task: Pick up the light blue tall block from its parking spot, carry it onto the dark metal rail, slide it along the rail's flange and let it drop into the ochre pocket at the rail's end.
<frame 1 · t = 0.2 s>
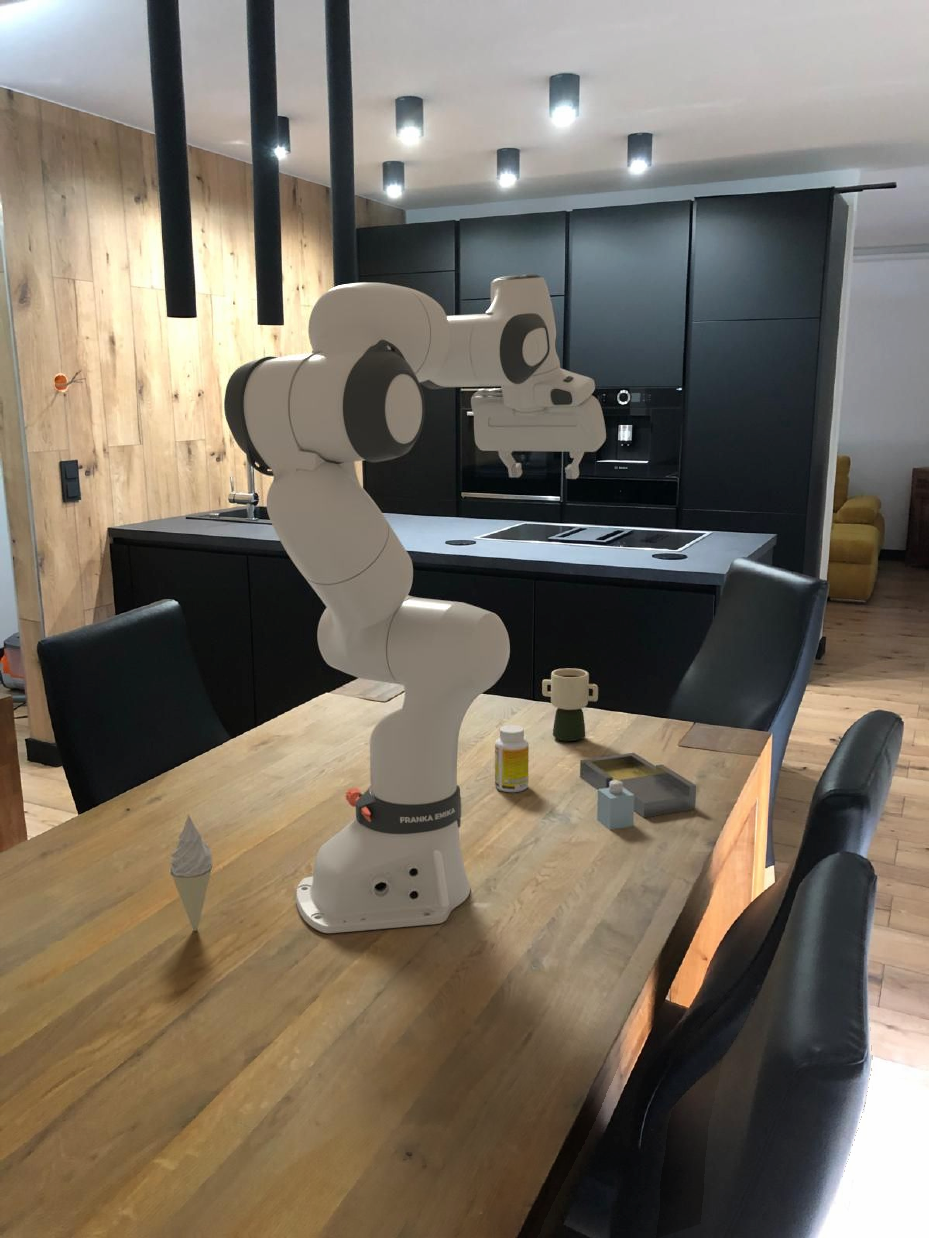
hand: (544, 476, 152), 52 cm above the table, tool tilted 20°, fingers open, 8 cm apart
light blue tall block: (615, 823, 152), on the table
supplement bottle: (511, 788, 166), on the table
rail: (636, 793, 163), on the table
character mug: (568, 739, 190), on the table
ice cream cone: (195, 931, 121), on the table
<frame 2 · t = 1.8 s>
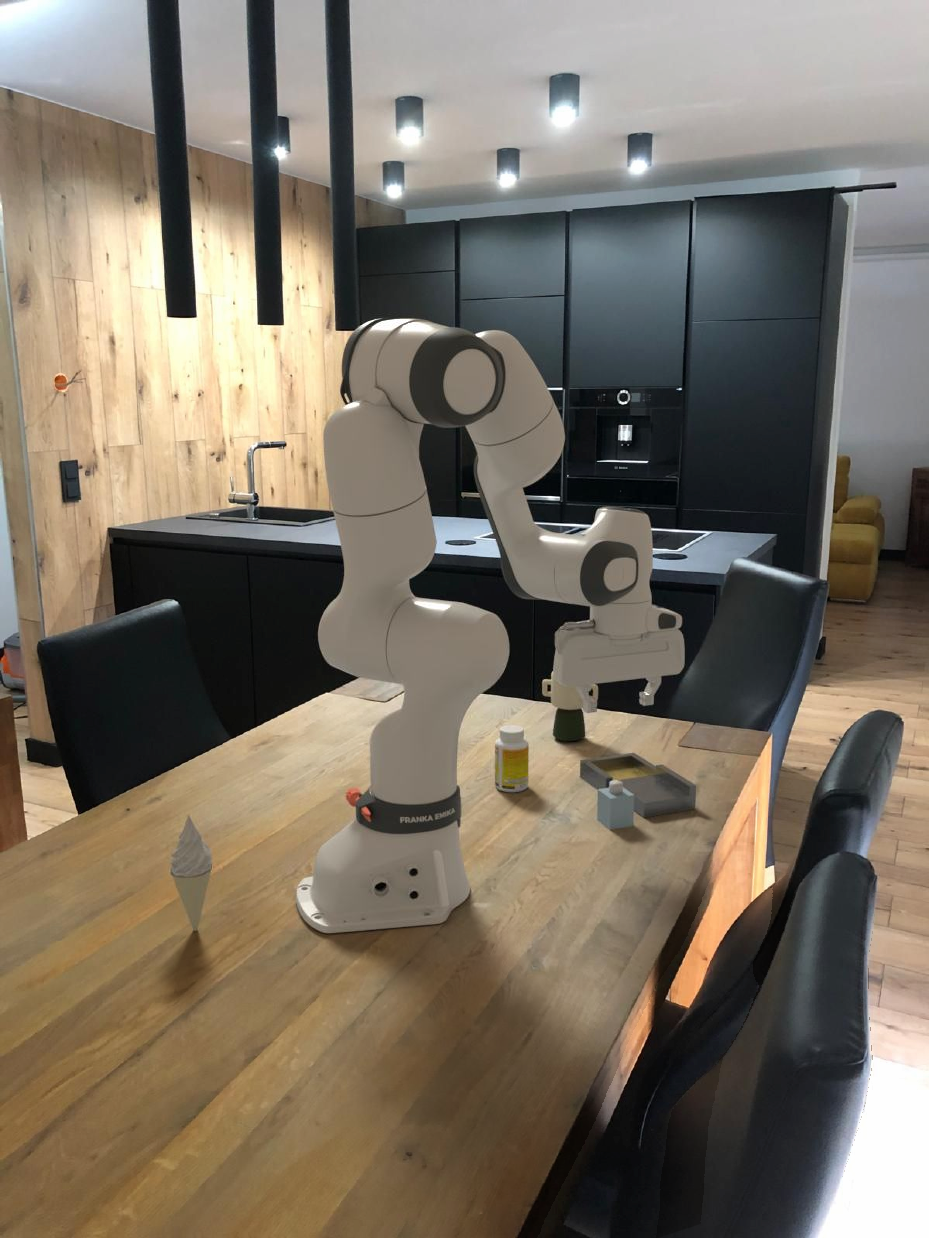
hand: (618, 708, 148), 18 cm above the table, tool pointing down, fingers open, 8 cm apart
nothing on the table moved.
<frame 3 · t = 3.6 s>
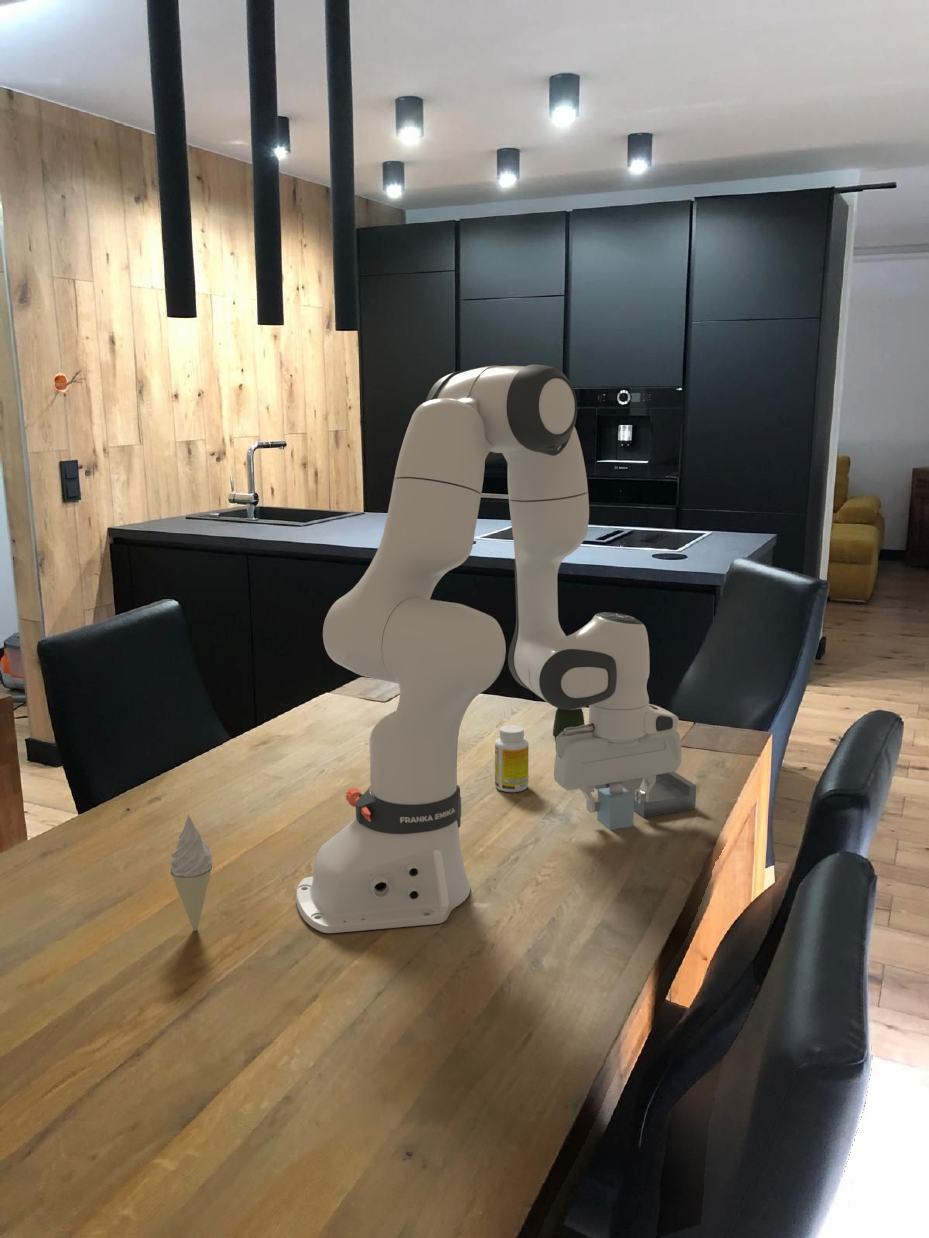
hand: (617, 806, 152), 2 cm above the table, tool pointing down, fingers open, 7 cm apart
nothing on the table moved.
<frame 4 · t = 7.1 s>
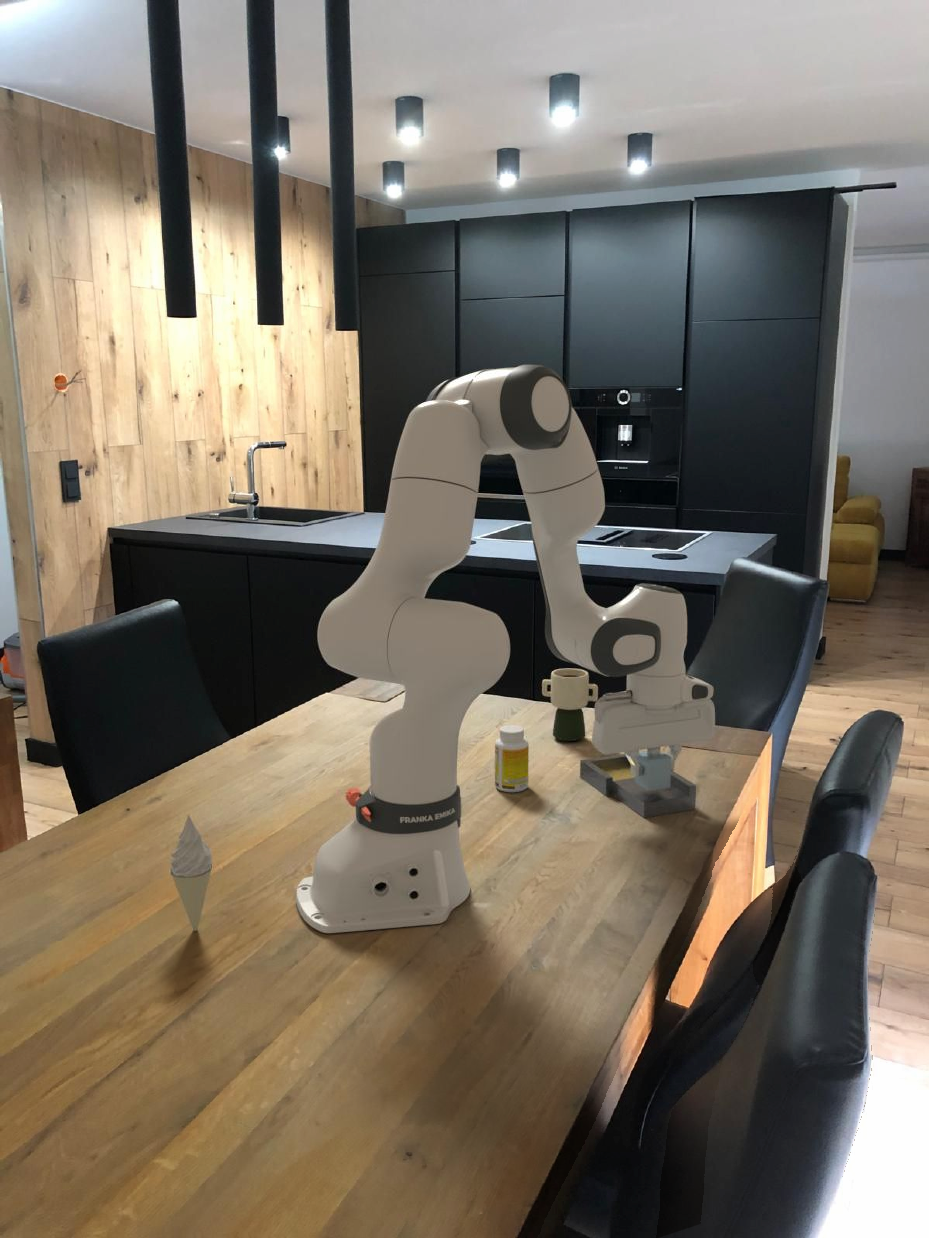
hand: (652, 772, 157), 6 cm above the table, tool pointing down, fingers closed on light blue tall block, 4 cm apart
light blue tall block: (652, 784, 157), point 4 cm above the table, touching gripper
everything else where it was.
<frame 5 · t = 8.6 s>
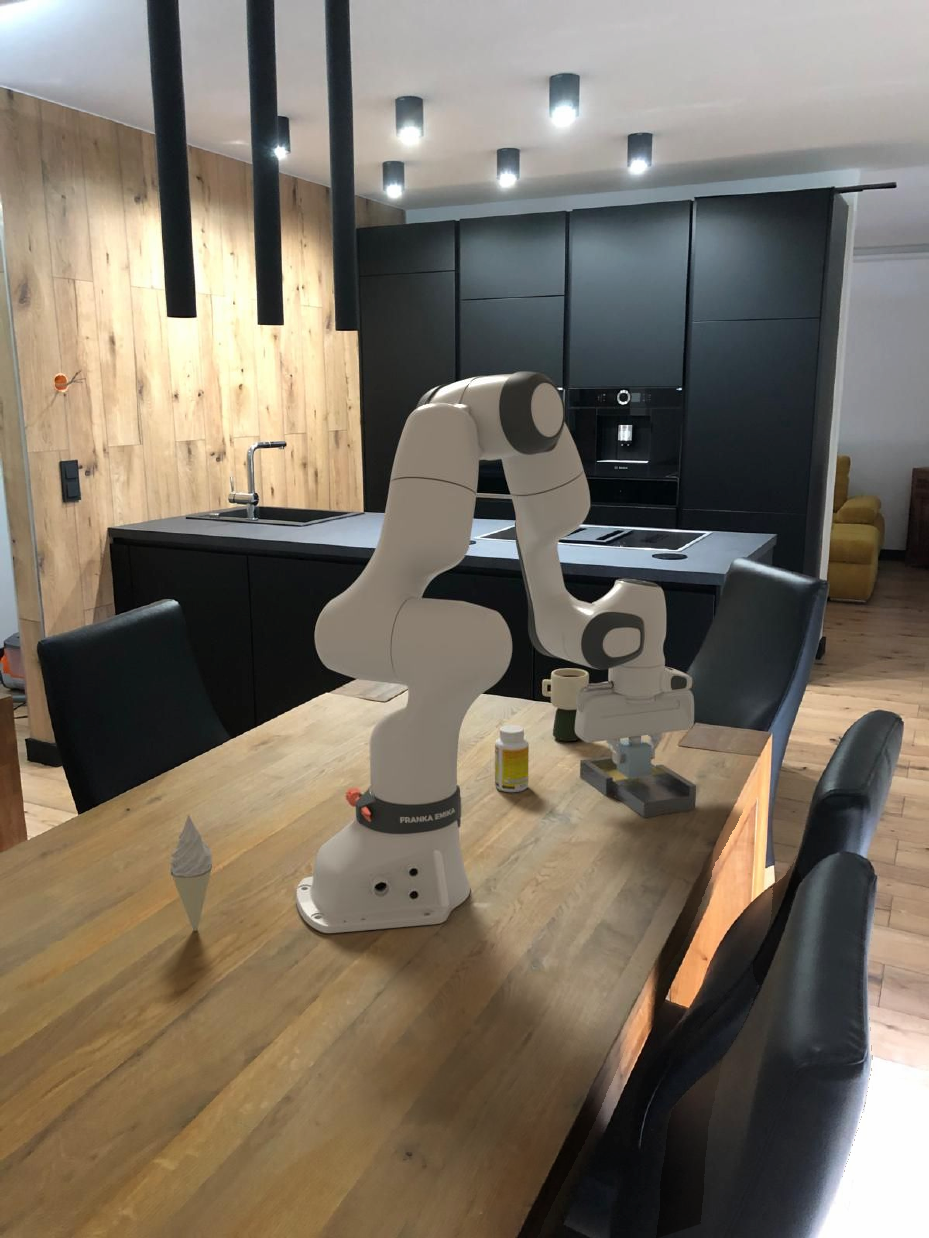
hand: (633, 760, 162), 5 cm above the table, tool pointing down, fingers closed on light blue tall block, 4 cm apart
light blue tall block: (633, 772, 163), point 3 cm above the table, touching gripper
everything else where it was.
when the fingers open (5 cm above the table, at t = 10.0 s): light blue tall block drops 2 cm, resting on rail.
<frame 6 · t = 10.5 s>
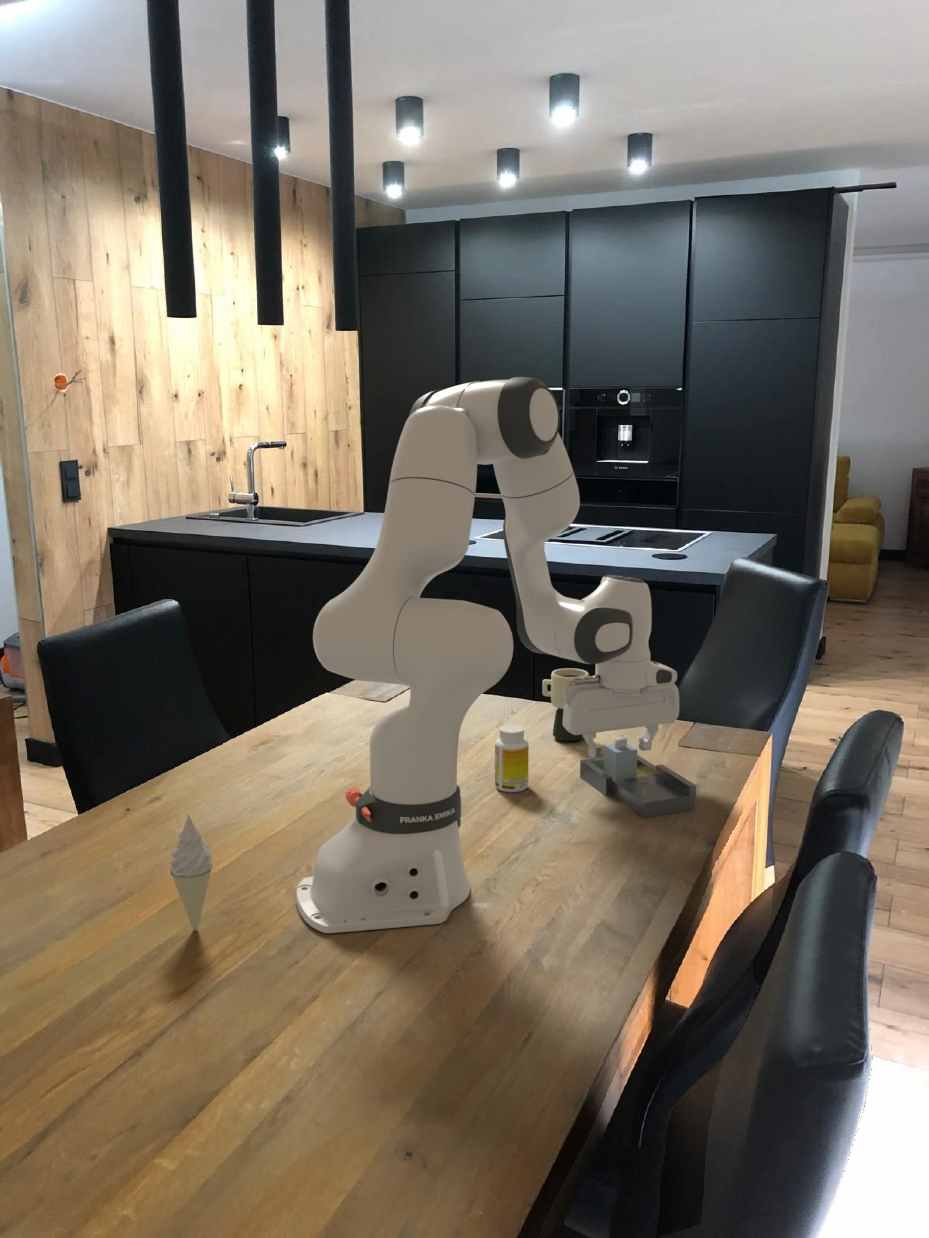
hand: (620, 752, 166), 5 cm above the table, tool pointing down, fingers open, 8 cm apart
light blue tall block: (620, 775, 167), point 1 cm above the table, touching rail
everything else where it was.
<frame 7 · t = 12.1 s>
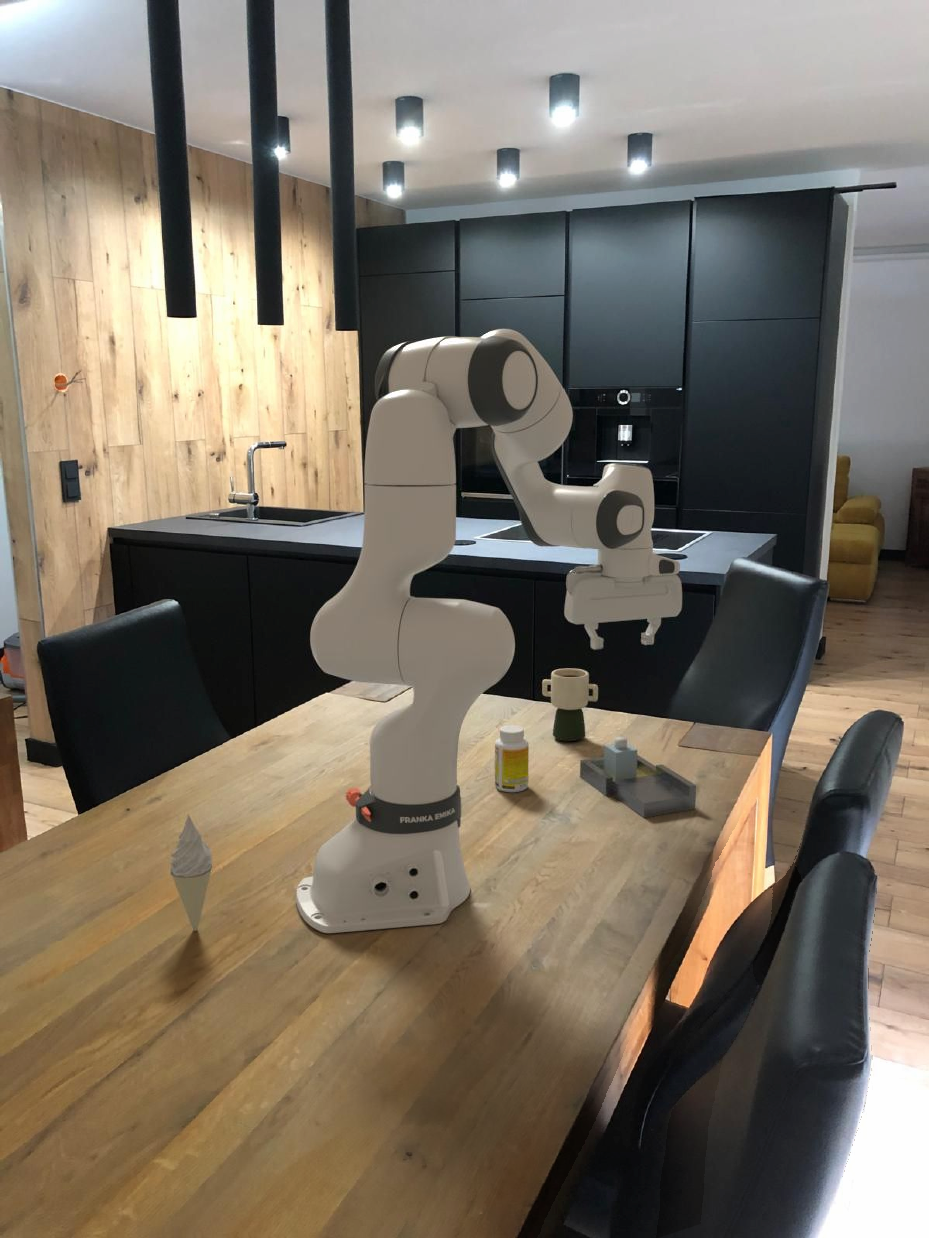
hand: (622, 646, 165), 23 cm above the table, tool pointing down, fingers open, 8 cm apart
nothing on the table moved.
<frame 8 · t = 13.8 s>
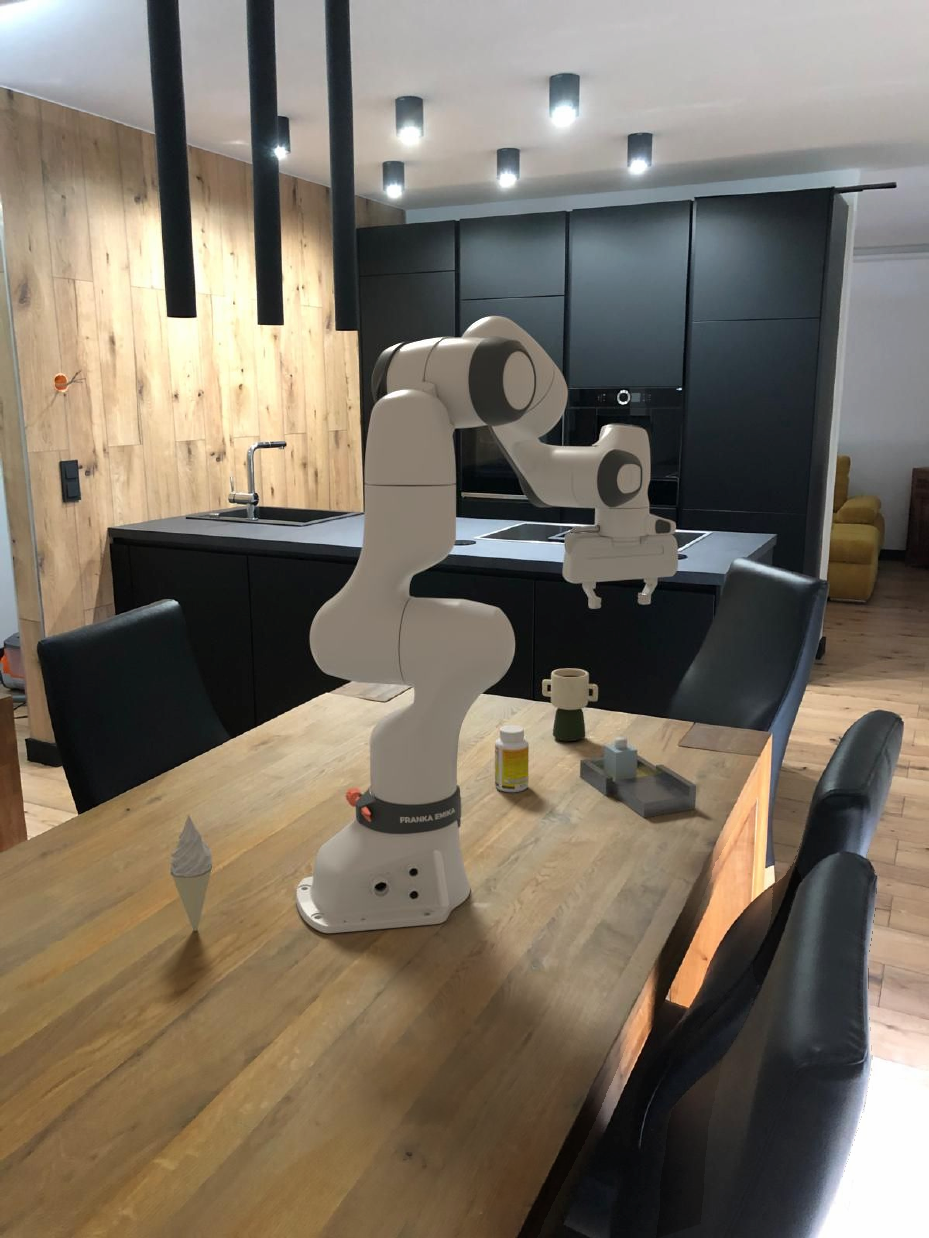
hand: (619, 605, 168), 29 cm above the table, tool pointing down, fingers open, 8 cm apart
nothing on the table moved.
at the end: light blue tall block 0.5 cm from the target spot on the rail, point 1.4 cm above the rail's base; light blue tall block tilted 0°; the gripper is holding nothing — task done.
